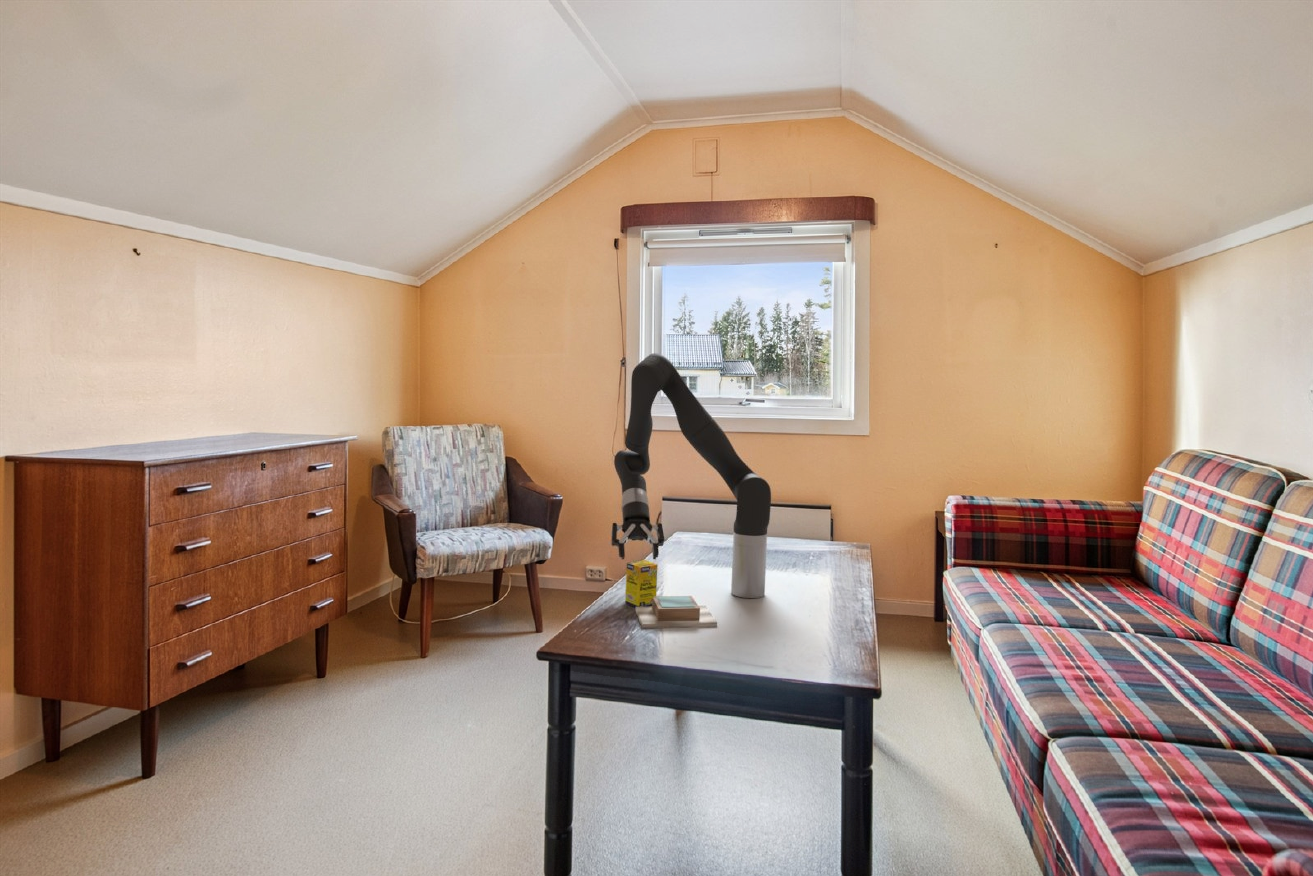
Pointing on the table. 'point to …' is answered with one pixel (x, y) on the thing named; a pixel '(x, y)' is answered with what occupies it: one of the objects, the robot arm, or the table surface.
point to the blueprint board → (654, 623)
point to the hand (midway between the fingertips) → (639, 557)
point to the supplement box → (641, 583)
